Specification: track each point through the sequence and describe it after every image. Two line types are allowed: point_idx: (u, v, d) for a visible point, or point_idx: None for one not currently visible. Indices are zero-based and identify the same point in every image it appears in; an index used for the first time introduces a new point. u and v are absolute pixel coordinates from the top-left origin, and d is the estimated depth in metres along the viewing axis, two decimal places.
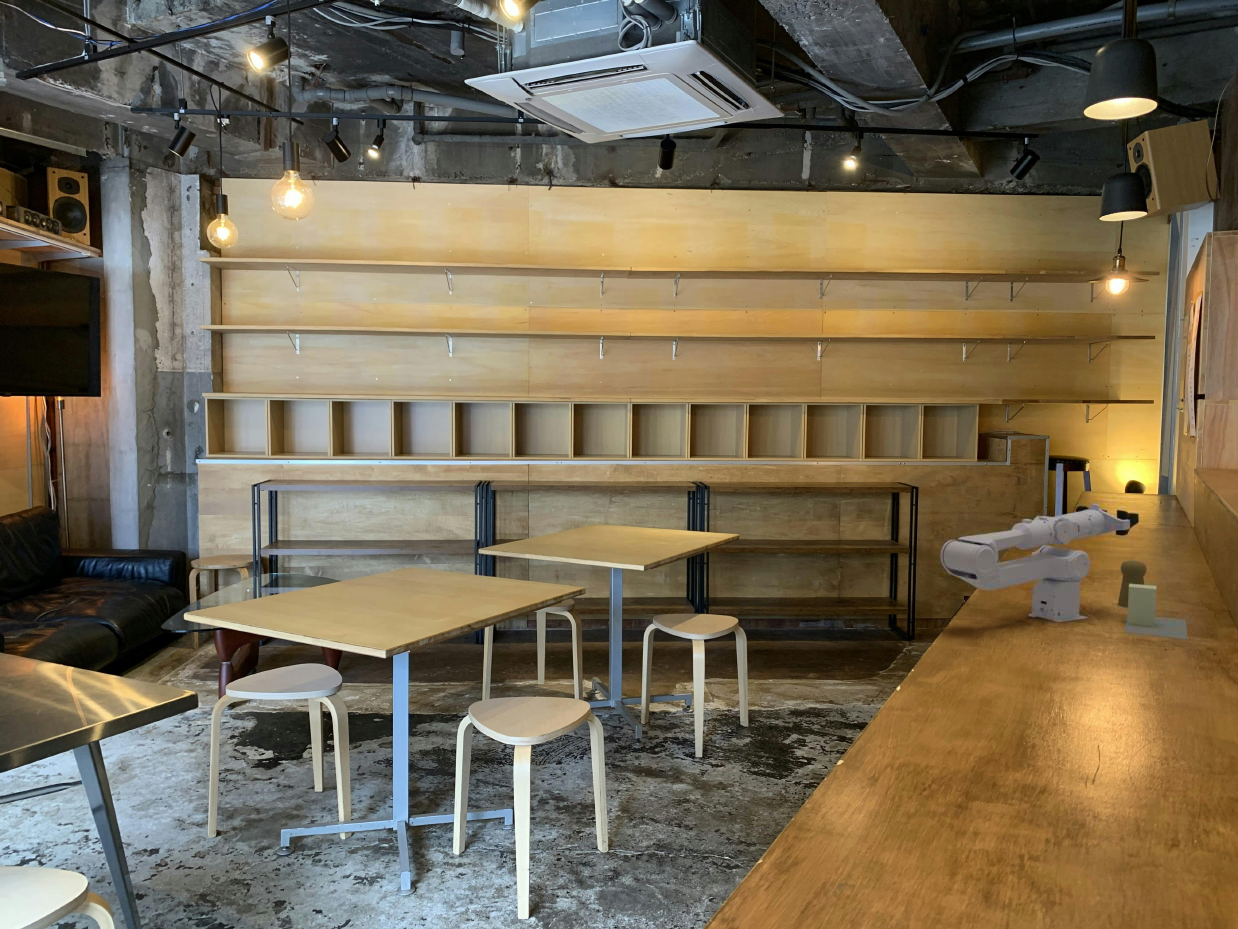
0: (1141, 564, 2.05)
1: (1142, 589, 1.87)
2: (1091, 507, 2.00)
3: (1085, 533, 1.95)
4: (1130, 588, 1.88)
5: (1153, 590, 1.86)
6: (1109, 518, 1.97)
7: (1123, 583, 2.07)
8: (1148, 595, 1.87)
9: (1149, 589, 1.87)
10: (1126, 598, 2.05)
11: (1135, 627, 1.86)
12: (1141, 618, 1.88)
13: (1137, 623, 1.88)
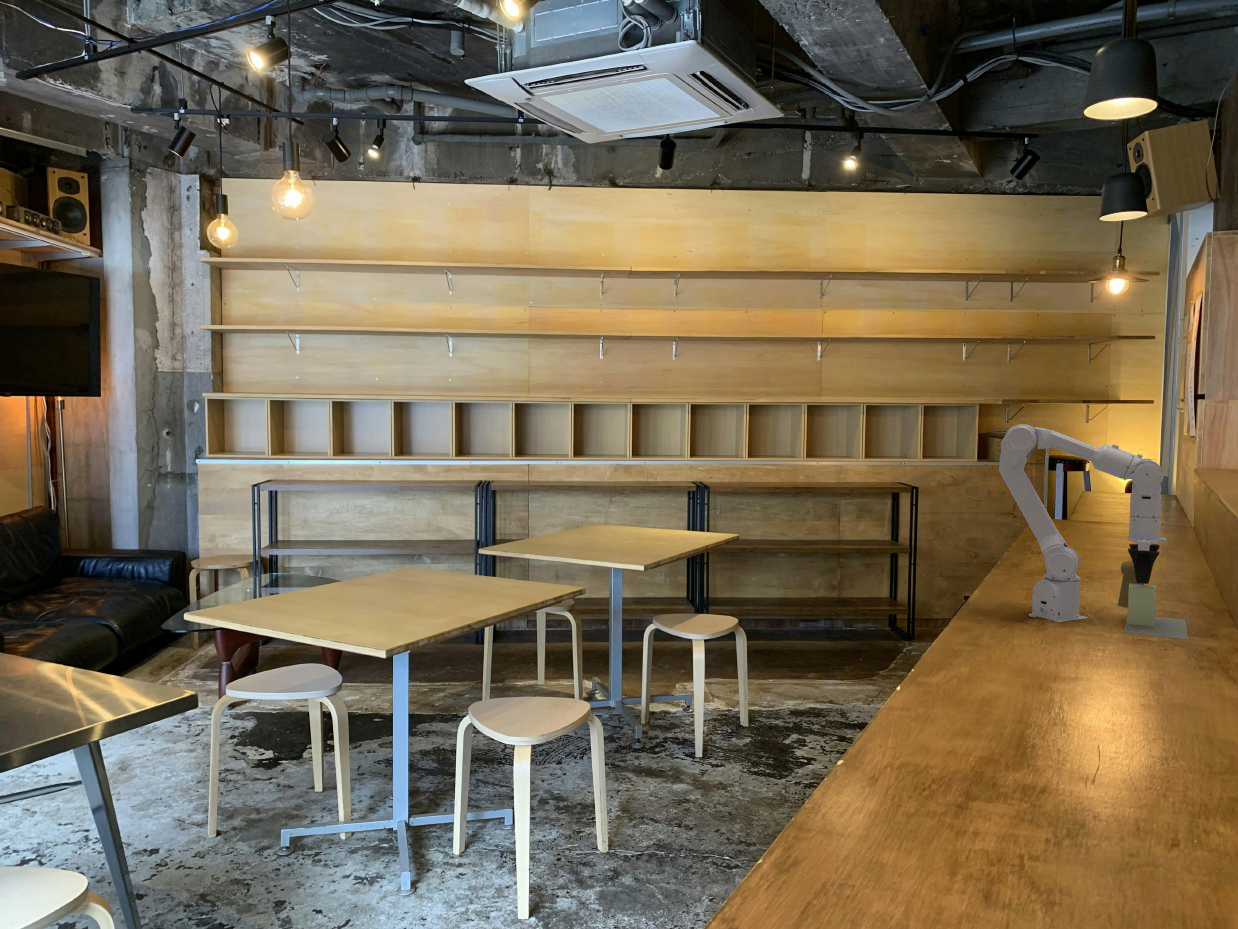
0: None
1: (1142, 589, 1.87)
2: (1162, 538, 1.87)
3: (1137, 509, 1.87)
4: (1130, 588, 1.88)
5: (1153, 590, 1.86)
6: None
7: (1123, 583, 2.07)
8: (1148, 595, 1.87)
9: (1149, 589, 1.87)
10: (1126, 598, 2.05)
11: (1135, 627, 1.86)
12: (1141, 618, 1.88)
13: (1137, 623, 1.88)
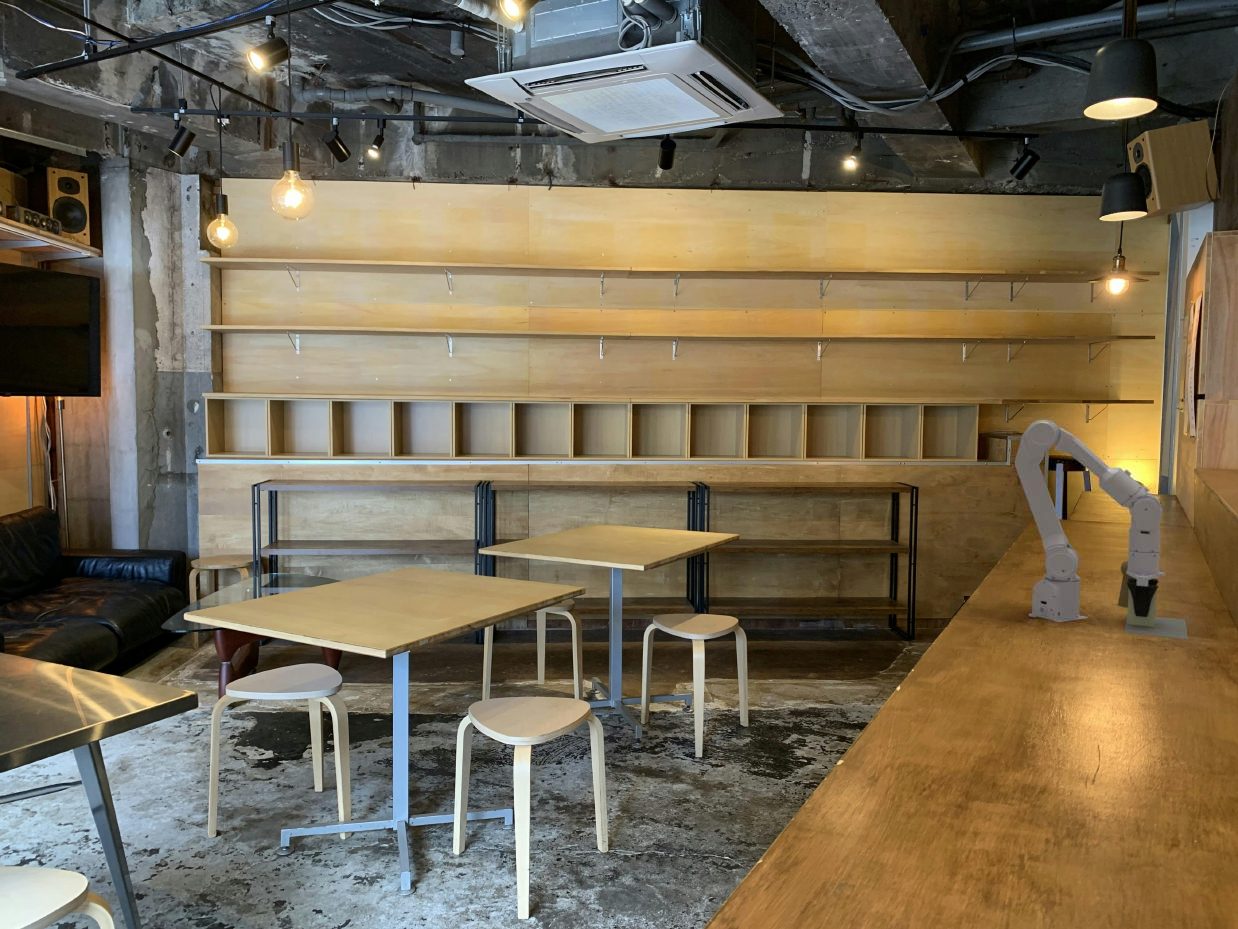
0: None
1: None
2: (1160, 572, 1.87)
3: (1136, 544, 1.87)
4: None
5: None
6: None
7: (1123, 583, 2.07)
8: None
9: None
10: (1126, 598, 2.05)
11: (1135, 627, 1.86)
12: (1141, 618, 1.88)
13: (1137, 623, 1.88)
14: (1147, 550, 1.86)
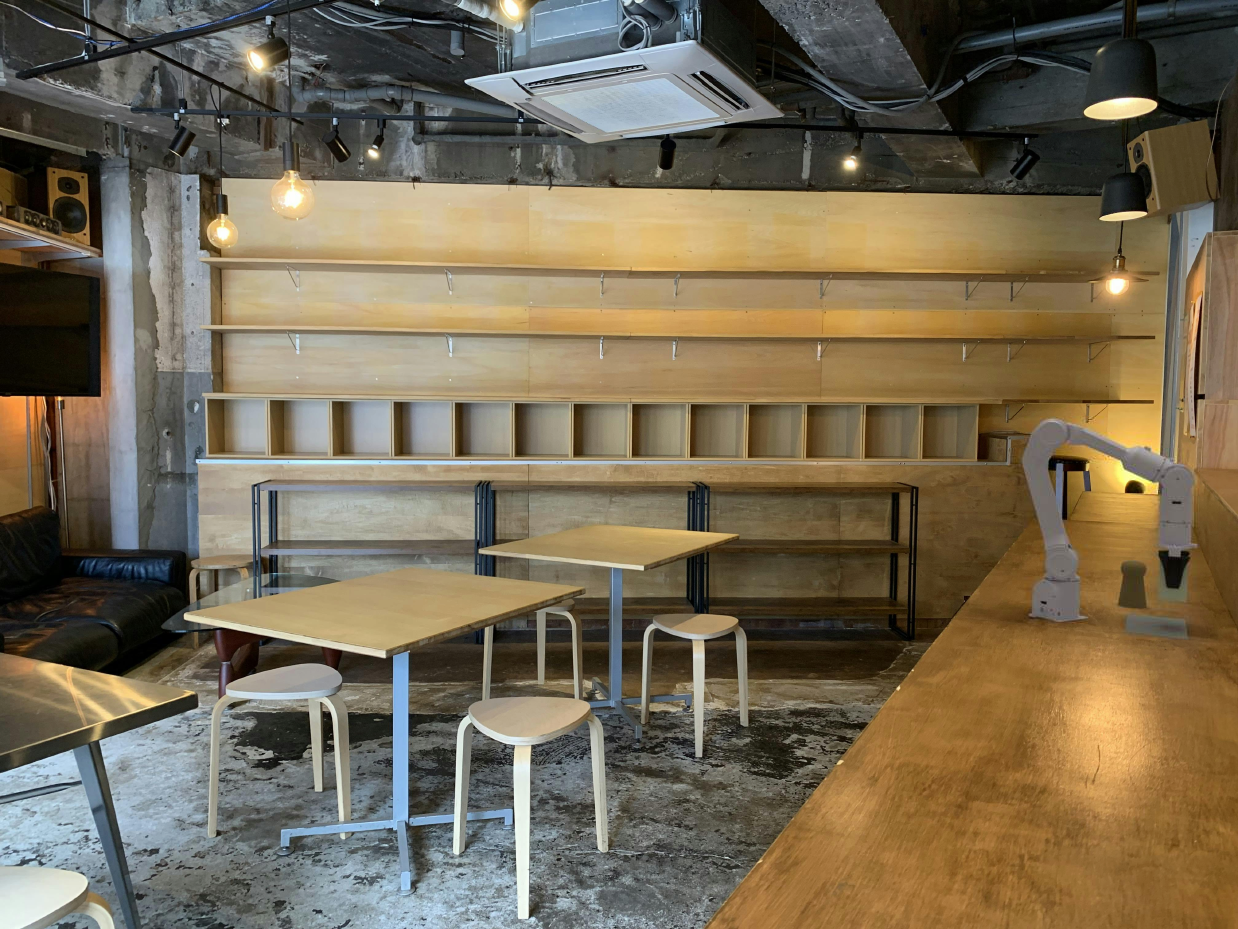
0: (1141, 564, 2.05)
1: None
2: (1192, 543, 1.84)
3: (1167, 514, 1.84)
4: (1161, 563, 1.85)
5: None
6: None
7: (1123, 583, 2.07)
8: None
9: None
10: (1126, 598, 2.05)
11: (1135, 627, 1.86)
12: (1172, 593, 1.84)
13: (1168, 599, 1.85)
14: (1179, 521, 1.83)
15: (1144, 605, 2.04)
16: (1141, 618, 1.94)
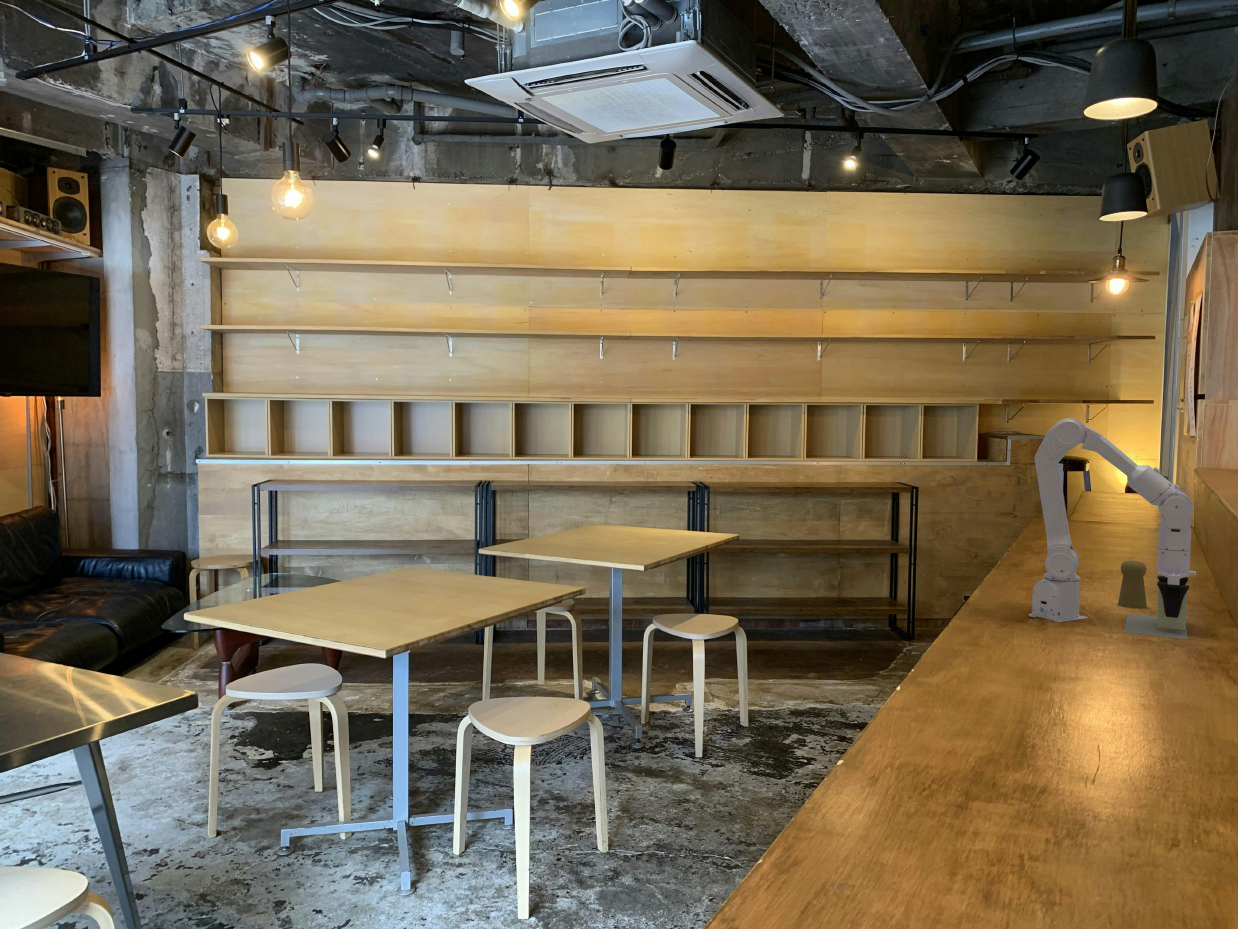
0: (1141, 564, 2.05)
1: None
2: (1191, 571, 1.85)
3: (1166, 542, 1.84)
4: (1160, 591, 1.86)
5: None
6: None
7: (1123, 583, 2.07)
8: None
9: None
10: (1126, 598, 2.05)
11: (1135, 627, 1.86)
12: (1171, 621, 1.85)
13: (1167, 626, 1.85)
14: (1178, 548, 1.83)
15: (1144, 605, 2.04)
16: (1141, 618, 1.94)
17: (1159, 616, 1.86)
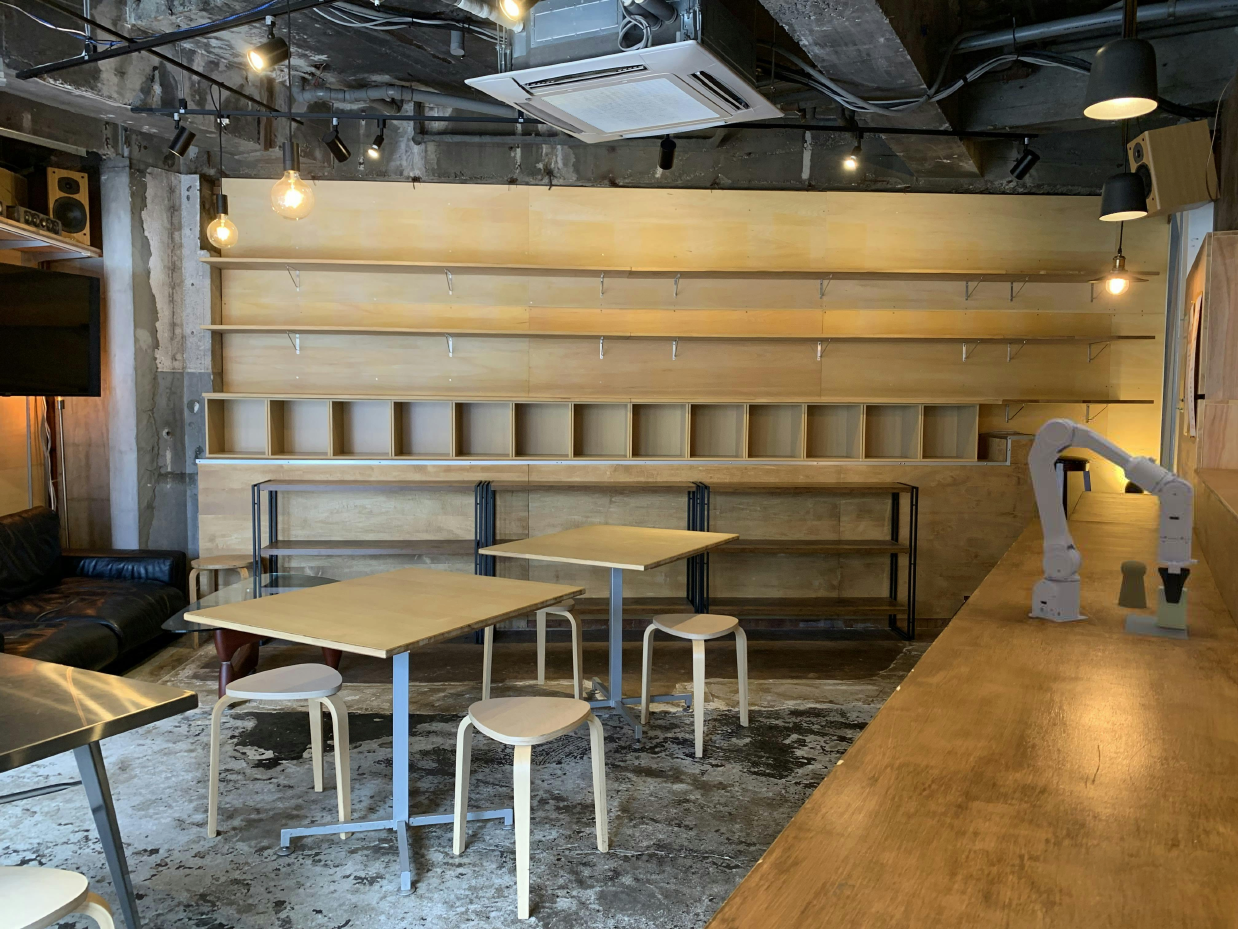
0: (1141, 564, 2.05)
1: None
2: (1192, 559, 1.82)
3: (1165, 530, 1.82)
4: (1160, 590, 1.86)
5: (1184, 592, 1.84)
6: None
7: (1123, 583, 2.07)
8: None
9: None
10: (1126, 598, 2.05)
11: (1135, 627, 1.86)
12: (1171, 620, 1.85)
13: (1167, 625, 1.85)
14: (1176, 536, 1.80)
15: (1144, 605, 2.04)
16: (1141, 618, 1.94)
17: (1159, 615, 1.86)
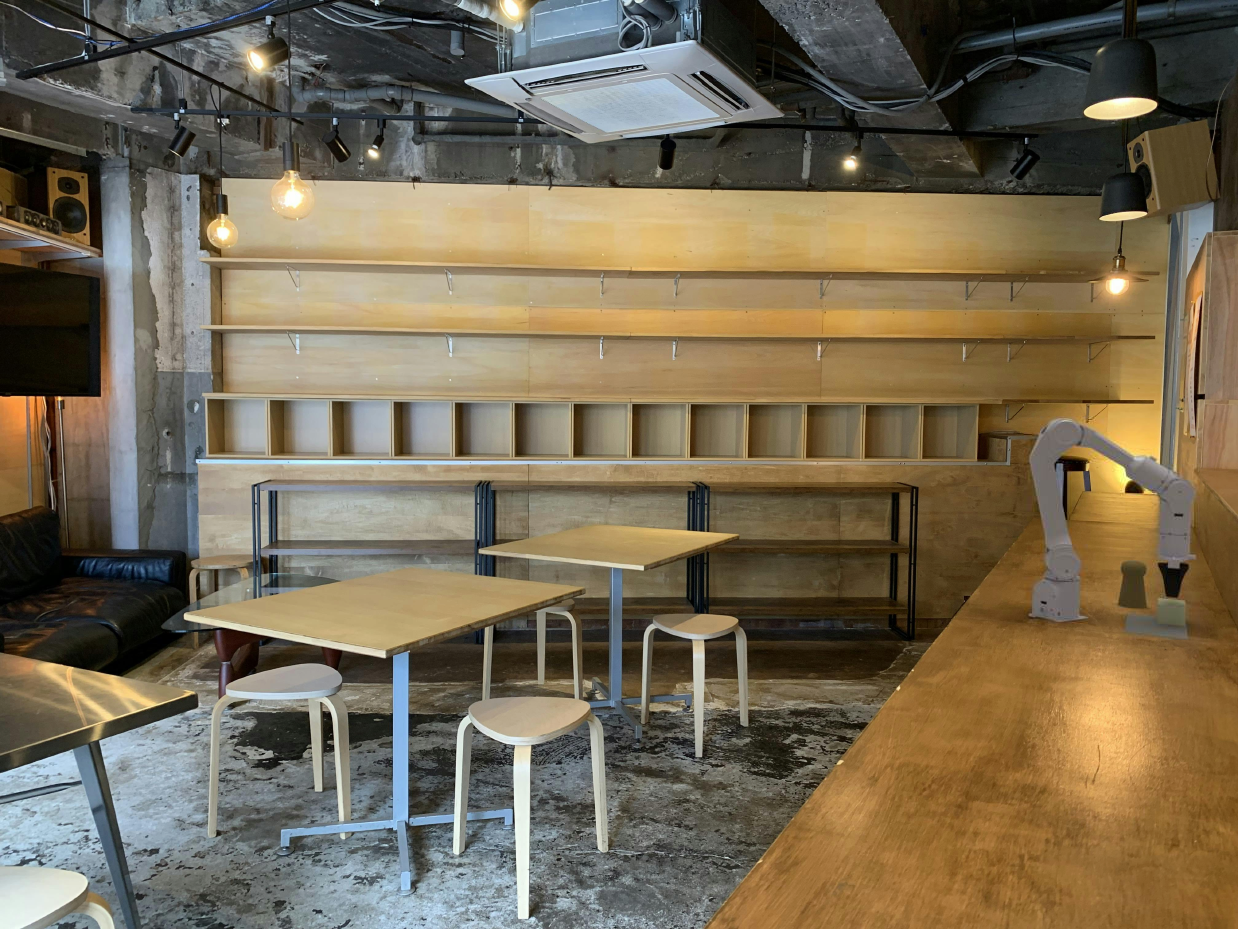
0: (1141, 564, 2.05)
1: (1171, 599, 1.95)
2: (1191, 555, 1.88)
3: (1169, 527, 1.87)
4: (1159, 598, 1.96)
5: (1182, 600, 1.94)
6: None
7: (1123, 583, 2.07)
8: (1177, 601, 1.93)
9: (1178, 600, 1.94)
10: (1126, 598, 2.05)
11: (1135, 627, 1.86)
12: (1171, 604, 1.89)
13: (1168, 605, 1.89)
14: (1181, 533, 1.86)
15: (1144, 605, 2.04)
16: (1141, 618, 1.94)
17: (1159, 602, 1.91)
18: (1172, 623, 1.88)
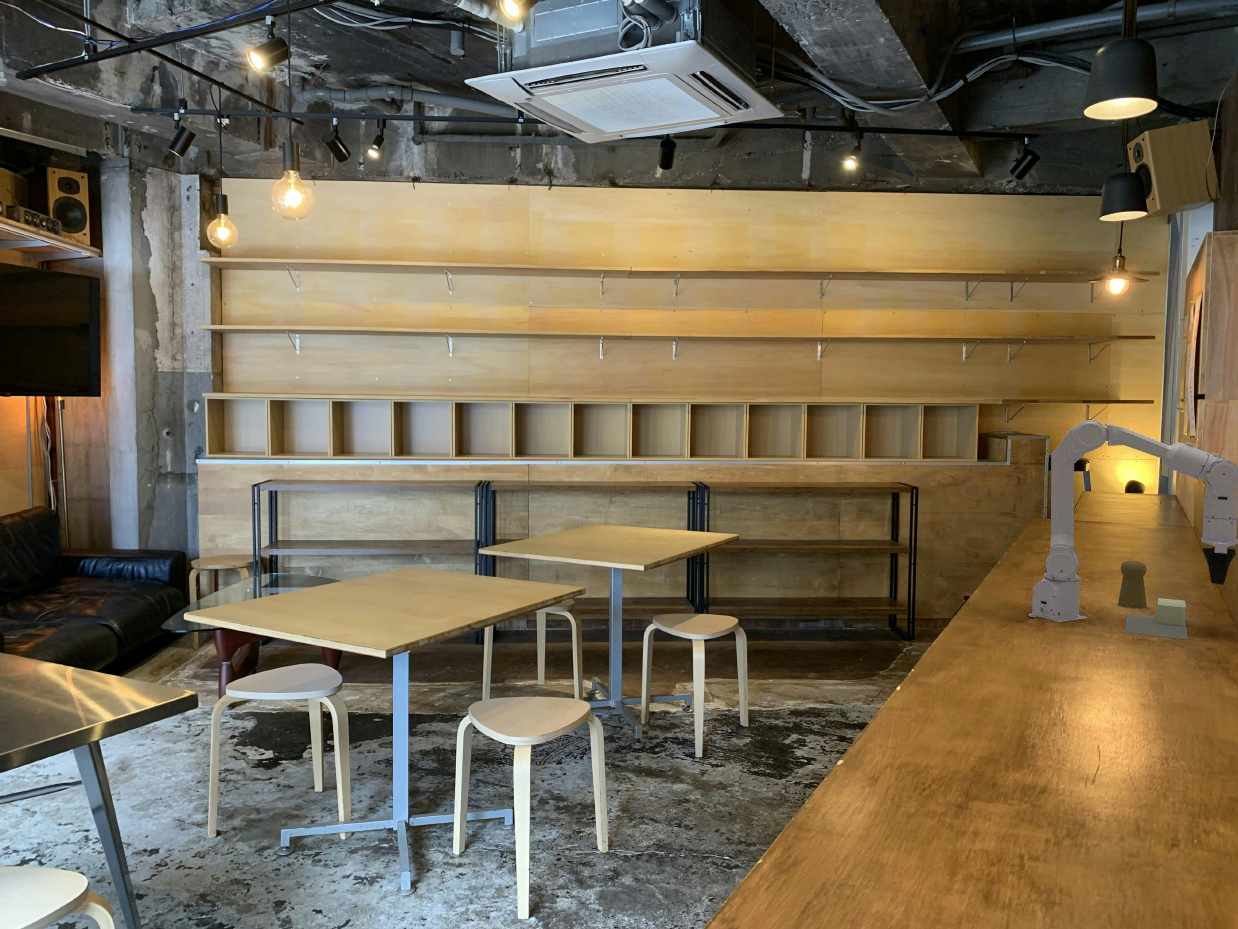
0: (1141, 564, 2.05)
1: (1171, 599, 1.95)
2: None
3: (1213, 510, 1.80)
4: (1159, 598, 1.96)
5: (1182, 600, 1.94)
6: None
7: (1123, 583, 2.07)
8: (1177, 601, 1.93)
9: (1178, 600, 1.94)
10: (1126, 598, 2.05)
11: (1135, 627, 1.86)
12: (1171, 604, 1.89)
13: (1168, 605, 1.89)
14: (1225, 516, 1.79)
15: (1144, 605, 2.04)
16: (1141, 618, 1.94)
17: (1159, 602, 1.91)
18: (1172, 623, 1.88)
